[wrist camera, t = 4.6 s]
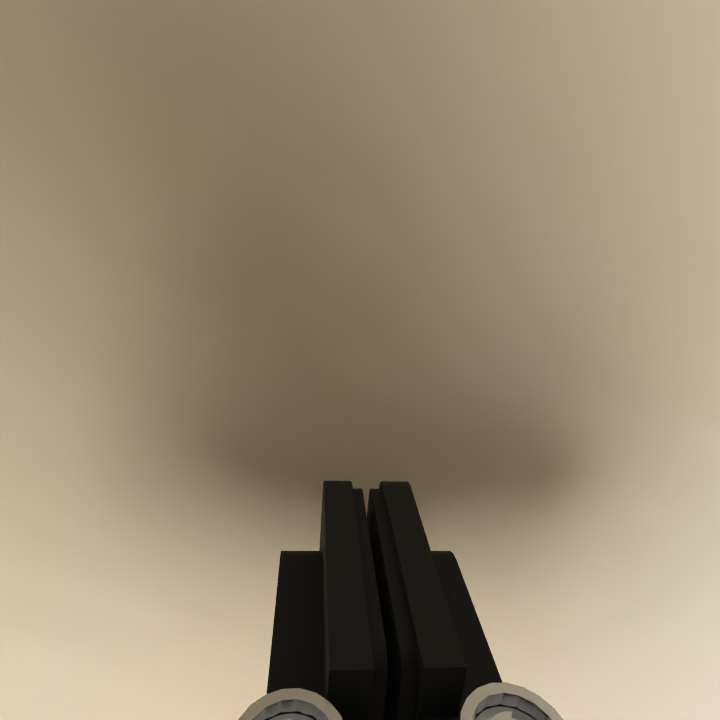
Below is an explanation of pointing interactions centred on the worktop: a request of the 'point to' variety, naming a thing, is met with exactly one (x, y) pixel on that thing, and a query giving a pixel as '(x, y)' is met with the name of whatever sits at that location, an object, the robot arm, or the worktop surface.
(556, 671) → the worktop surface
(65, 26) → the worktop surface
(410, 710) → the robot arm
